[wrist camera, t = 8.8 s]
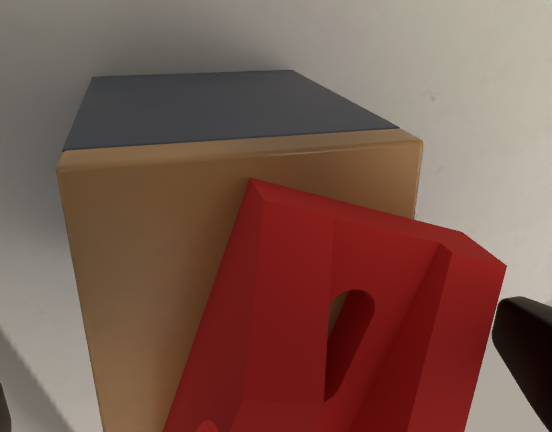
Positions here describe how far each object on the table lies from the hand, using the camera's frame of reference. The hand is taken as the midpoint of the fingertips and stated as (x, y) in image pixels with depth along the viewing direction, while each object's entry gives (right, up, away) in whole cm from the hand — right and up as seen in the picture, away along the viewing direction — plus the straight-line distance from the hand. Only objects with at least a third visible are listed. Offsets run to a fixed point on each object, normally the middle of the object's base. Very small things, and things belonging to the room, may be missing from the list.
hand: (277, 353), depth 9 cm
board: (-1, +1, +2) cm, 2 cm away
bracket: (+1, 0, +2) cm, 2 cm away
